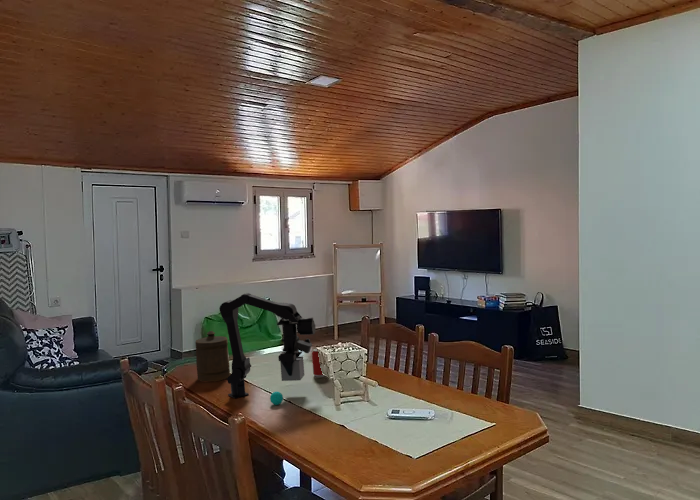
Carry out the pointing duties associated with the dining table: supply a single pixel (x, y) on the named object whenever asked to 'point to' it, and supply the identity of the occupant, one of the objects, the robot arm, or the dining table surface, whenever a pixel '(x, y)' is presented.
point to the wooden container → (212, 358)
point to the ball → (276, 398)
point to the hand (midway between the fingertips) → (292, 372)
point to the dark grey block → (294, 370)
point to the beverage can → (316, 364)
